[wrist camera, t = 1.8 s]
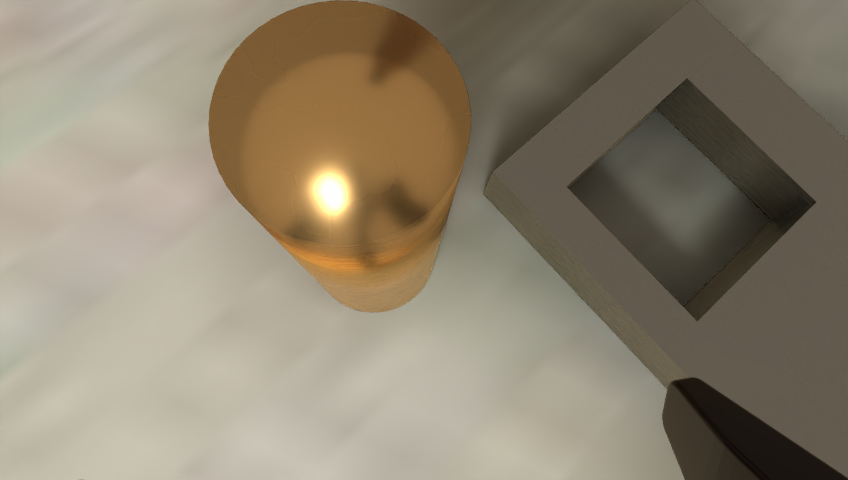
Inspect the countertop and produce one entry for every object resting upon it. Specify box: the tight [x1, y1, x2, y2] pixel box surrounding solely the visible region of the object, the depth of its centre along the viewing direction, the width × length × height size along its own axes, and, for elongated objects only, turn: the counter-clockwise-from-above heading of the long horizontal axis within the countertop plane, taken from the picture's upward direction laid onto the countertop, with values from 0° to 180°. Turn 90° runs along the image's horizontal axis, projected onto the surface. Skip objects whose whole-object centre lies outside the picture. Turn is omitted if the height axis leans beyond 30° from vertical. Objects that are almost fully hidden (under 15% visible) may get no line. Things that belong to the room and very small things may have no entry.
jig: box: [483, 0, 848, 478], centre depth 21 cm, size 17×10×2 cm, turn 42°
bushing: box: [209, 1, 471, 312], centre depth 16 cm, size 4×4×12 cm
